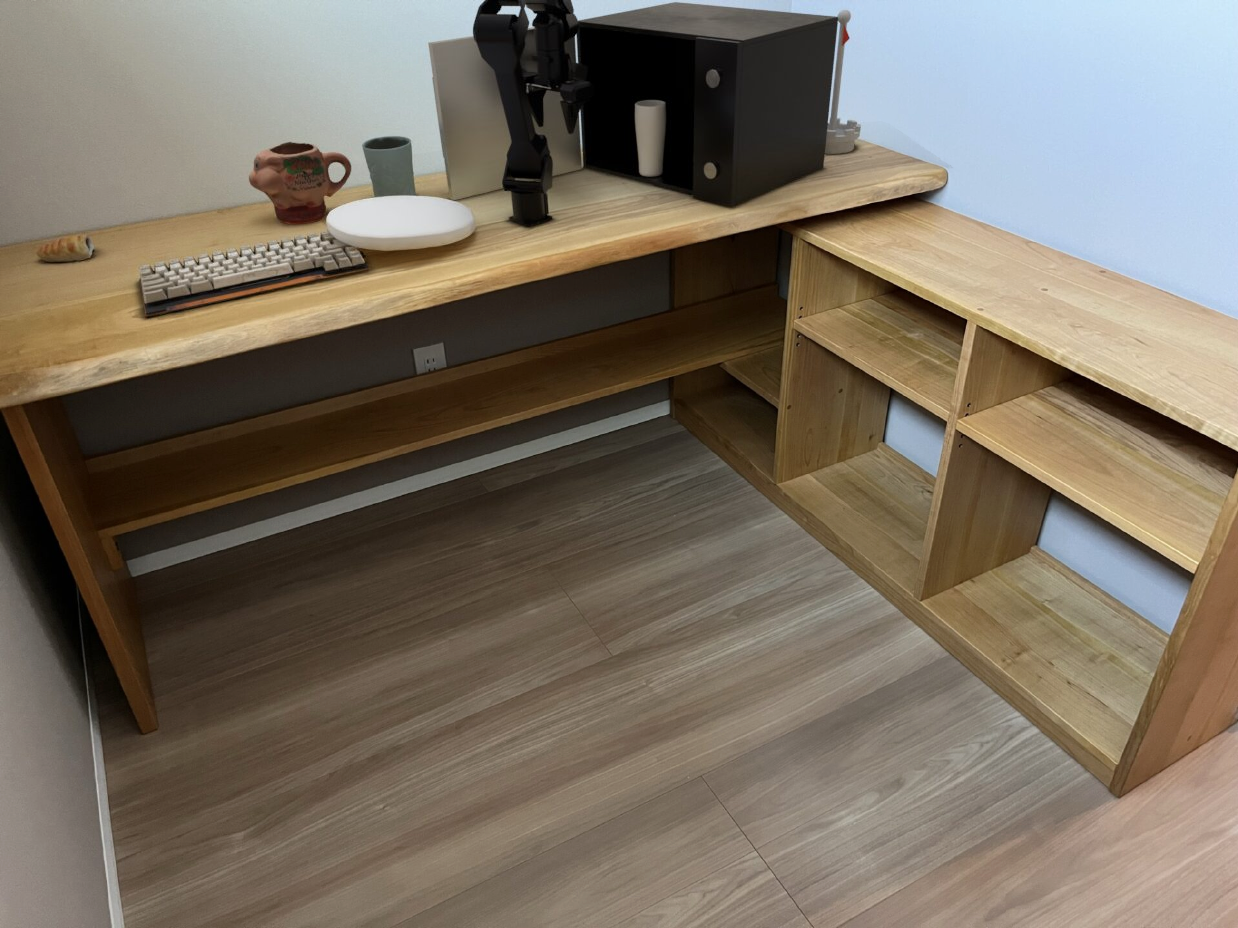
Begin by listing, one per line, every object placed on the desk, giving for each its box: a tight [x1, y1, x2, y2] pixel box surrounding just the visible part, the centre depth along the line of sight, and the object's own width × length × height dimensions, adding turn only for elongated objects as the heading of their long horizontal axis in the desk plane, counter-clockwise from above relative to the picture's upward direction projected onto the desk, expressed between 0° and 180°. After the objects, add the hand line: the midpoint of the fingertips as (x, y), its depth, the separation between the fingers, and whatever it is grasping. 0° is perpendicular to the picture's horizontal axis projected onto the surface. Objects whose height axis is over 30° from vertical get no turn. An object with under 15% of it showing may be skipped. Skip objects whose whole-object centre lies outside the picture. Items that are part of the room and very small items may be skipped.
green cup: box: [361, 135, 417, 198], centre depth 189 cm, size 10×10×12 cm
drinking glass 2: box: [635, 100, 666, 177], centre depth 194 cm, size 7×7×15 cm
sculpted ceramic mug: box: [248, 141, 352, 225], centre depth 181 cm, size 20×12×14 cm, turn 117°
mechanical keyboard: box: [138, 230, 370, 318], centre depth 158 cm, size 38×19×3 cm, turn 118°
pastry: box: [35, 233, 95, 263], centre depth 168 cm, size 9×7×4 cm
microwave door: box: [427, 26, 583, 201], centre depth 192 cm, size 7×34×31 cm, turn 127°
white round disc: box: [325, 195, 477, 252], centre depth 169 cm, size 28×6×27 cm
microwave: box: [576, 1, 839, 208], centre depth 195 cm, size 35×44×31 cm
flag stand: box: [825, 9, 862, 155], centre depth 207 cm, size 13×13×30 cm
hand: (555, 130), depth 186 cm, fingers open, 9 cm apart
